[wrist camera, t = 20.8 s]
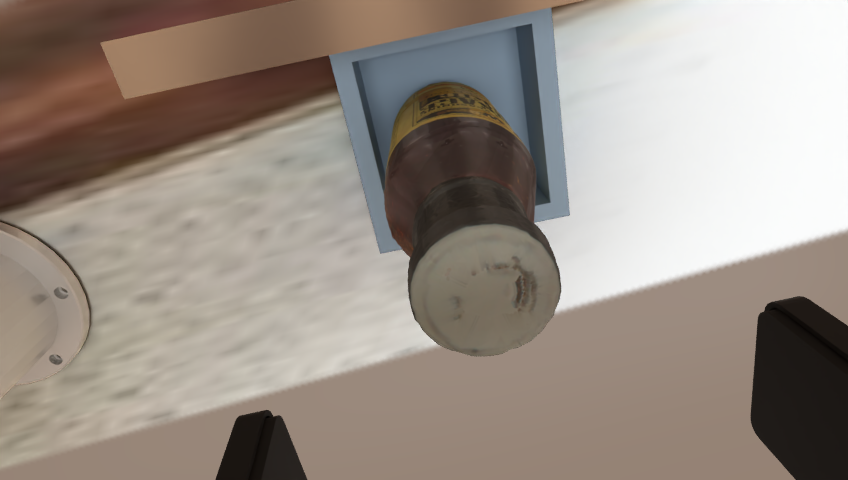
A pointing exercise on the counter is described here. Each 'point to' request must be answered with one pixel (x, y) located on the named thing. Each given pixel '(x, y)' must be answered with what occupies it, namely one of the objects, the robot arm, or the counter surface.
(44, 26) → the counter surface
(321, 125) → the counter surface
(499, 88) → the caddy
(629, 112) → the counter surface
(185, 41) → the back board
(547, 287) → the sauce bottle
